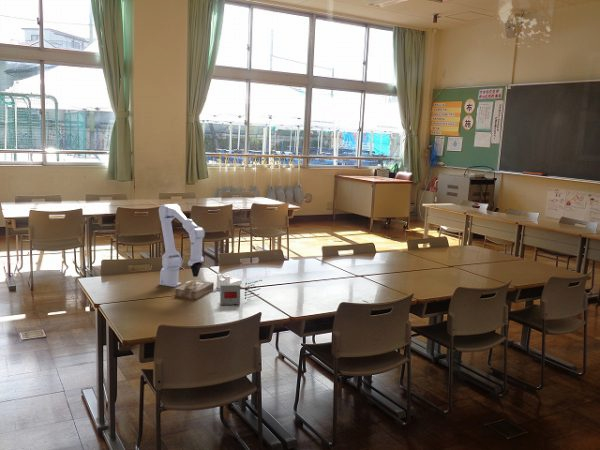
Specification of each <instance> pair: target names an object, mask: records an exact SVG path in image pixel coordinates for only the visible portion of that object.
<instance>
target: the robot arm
mask: <svg viewBox="0 0 600 450" xmlns="http://www.w3.org/2000/svg"><path fill="white" fill-rule="evenodd" d="M158 215H159V220H160V225H161V229H162V237H163V243H164V249H165V251H164V253H163V254H162V255H161V259H162V261H161V265H162V268H161V269H160V273H159V283H158V285H160V286H166V287H173V288H174V287H178V286H179V285H182V282H179V277H180V276H179V274H180V273H179V269H181V266H182V265H183V259H182V256H181V253H180V252H179V251H178V250H176V244H175V238H174V232H173V225H172V221H173V220H174V219H175V218H176V219H177V220H178V221H179V222H180V223H181V224H182V227H183V229H184V230H185V231H186V232H187V233H188V237H189V241H190V259H189V260H188V262H187V266H189V267H190V269H191V273H192V276H193V278H194V277H195V278H198V276H199V273H200V271H201V270H200V269H201V267H202V265H203V262H205V259H204V256H203V255H202V254H203V239H204V238H205V236H206V232H205V229H204V227H201V226H198V225H197V224H196V223H195V222H194V221H193V219H192V218H187V216H186V215H185V214H184V213H183V211H182V208H181V206H180V205H179V204H178V203H173V204H172V203H170V204H161V205H159V208H158Z"/></svg>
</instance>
